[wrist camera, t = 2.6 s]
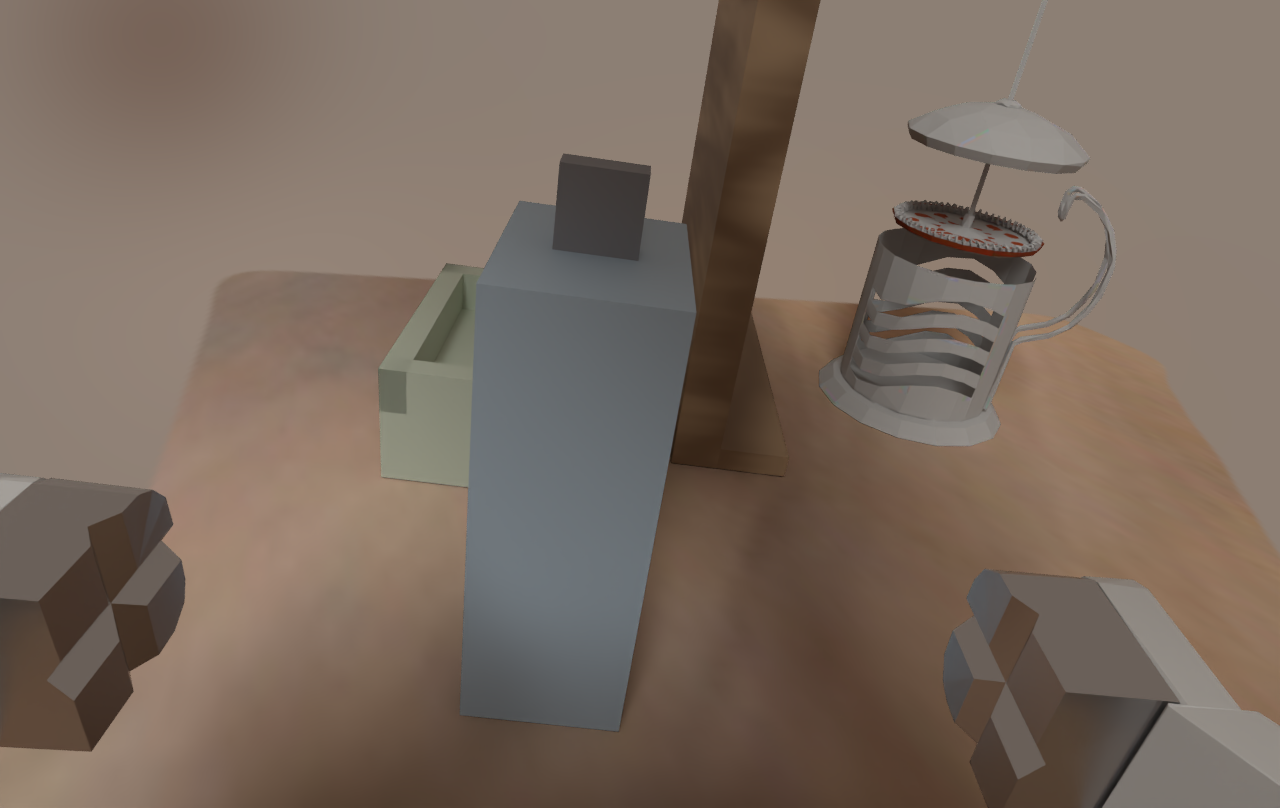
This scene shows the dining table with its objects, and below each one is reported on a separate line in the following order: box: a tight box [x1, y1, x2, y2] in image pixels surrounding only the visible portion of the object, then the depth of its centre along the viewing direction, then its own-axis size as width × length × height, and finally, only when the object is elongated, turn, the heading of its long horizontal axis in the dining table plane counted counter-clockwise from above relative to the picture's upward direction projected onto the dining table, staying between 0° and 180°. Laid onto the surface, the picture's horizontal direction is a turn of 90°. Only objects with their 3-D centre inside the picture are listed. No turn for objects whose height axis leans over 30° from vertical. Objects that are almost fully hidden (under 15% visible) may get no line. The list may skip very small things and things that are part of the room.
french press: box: [819, 0, 1116, 446], centre depth 38 cm, size 10×12×25 cm
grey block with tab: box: [460, 154, 697, 732], centre depth 22 cm, size 4×6×15 cm
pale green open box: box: [378, 264, 484, 487], centre depth 35 cm, size 9×11×5 cm
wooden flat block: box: [671, 0, 820, 476], centre depth 36 cm, size 5×16×24 cm, turn 179°
